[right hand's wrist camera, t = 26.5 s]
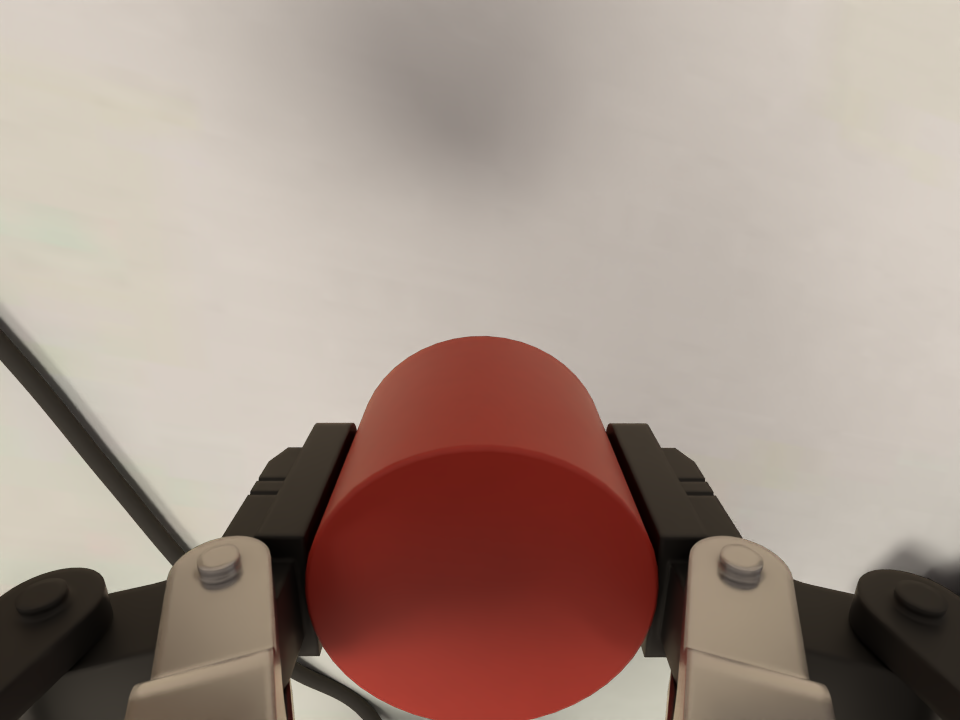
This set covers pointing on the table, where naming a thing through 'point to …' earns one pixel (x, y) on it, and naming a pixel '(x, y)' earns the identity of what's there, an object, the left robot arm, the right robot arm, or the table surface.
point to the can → (481, 540)
